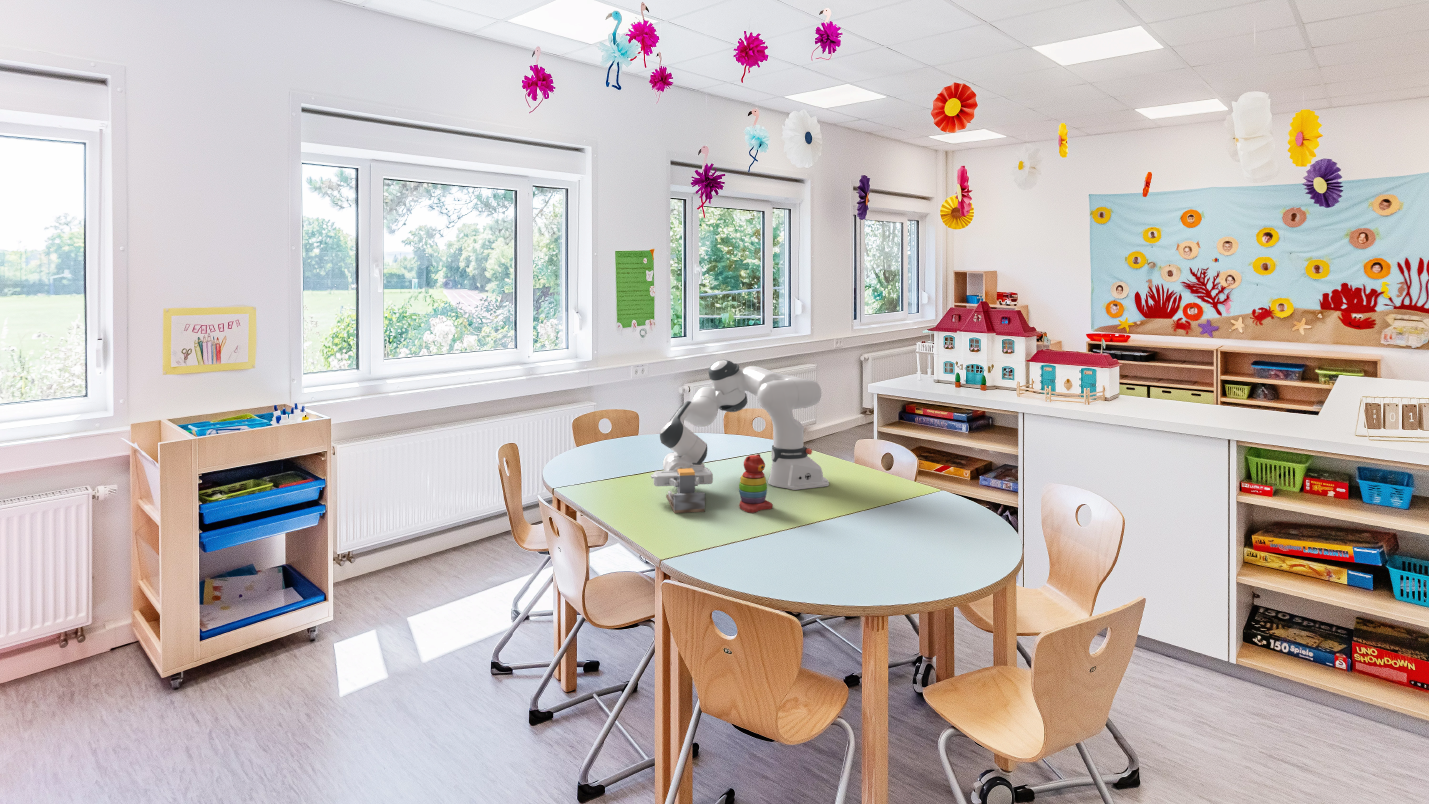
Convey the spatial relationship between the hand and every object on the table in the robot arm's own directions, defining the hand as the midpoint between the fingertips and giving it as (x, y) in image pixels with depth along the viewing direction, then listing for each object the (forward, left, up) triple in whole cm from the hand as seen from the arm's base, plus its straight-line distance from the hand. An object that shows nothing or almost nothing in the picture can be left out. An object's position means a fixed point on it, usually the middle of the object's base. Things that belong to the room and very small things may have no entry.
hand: (686, 484), depth 253 cm
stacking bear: (-22, +4, -8) cm, 24 cm away
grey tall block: (0, -1, -6) cm, 7 cm away
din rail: (0, -3, -8) cm, 9 cm away
